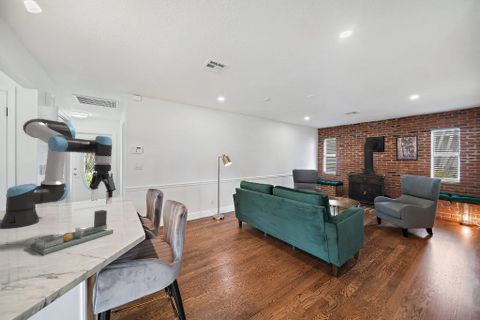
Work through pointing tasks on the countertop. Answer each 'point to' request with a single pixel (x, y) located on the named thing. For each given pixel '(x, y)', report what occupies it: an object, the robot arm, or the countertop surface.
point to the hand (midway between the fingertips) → (101, 202)
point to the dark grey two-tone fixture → (98, 224)
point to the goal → (47, 242)
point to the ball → (67, 237)
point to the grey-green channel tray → (71, 241)
